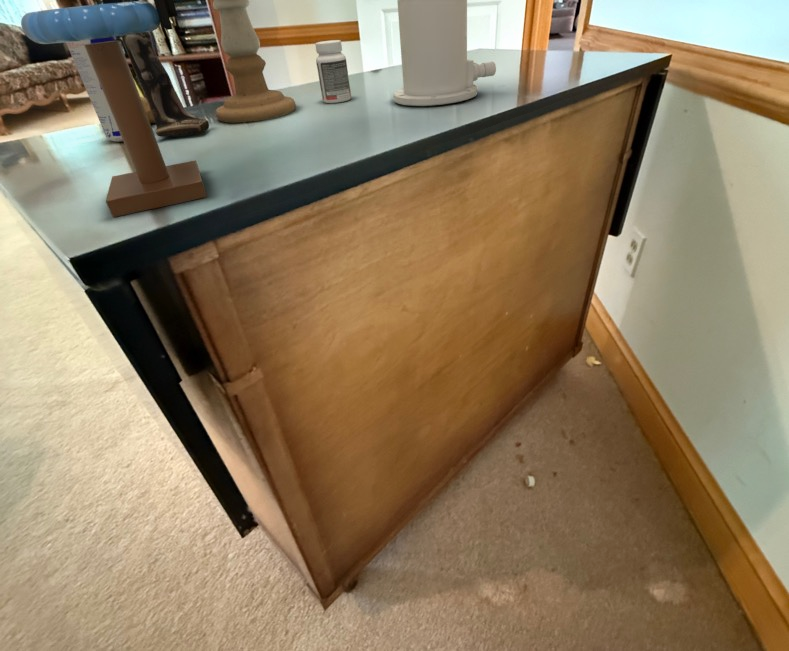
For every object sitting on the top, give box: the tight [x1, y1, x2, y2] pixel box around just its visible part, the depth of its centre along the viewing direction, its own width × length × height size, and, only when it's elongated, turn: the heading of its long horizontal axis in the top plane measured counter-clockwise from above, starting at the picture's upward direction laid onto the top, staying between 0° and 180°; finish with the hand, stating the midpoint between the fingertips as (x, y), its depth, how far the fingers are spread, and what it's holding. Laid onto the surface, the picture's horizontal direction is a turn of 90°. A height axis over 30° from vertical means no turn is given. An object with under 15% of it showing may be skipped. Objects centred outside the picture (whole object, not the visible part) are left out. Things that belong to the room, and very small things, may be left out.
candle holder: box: [212, 0, 297, 124], centre depth 68 cm, size 12×12×20 cm
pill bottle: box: [314, 39, 352, 104], centre depth 74 cm, size 5×5×8 cm
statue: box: [120, 0, 210, 138], centre depth 59 cm, size 4×7×20 cm, turn 95°
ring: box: [20, 0, 161, 45], centre depth 37 cm, size 10×10×2 cm
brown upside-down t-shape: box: [84, 40, 208, 218], centre depth 41 cm, size 8×8×12 cm
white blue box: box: [65, 37, 124, 143], centre depth 63 cm, size 6×6×15 cm
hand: (148, 29), depth 38 cm, fingers closed on ring, 2 cm apart
